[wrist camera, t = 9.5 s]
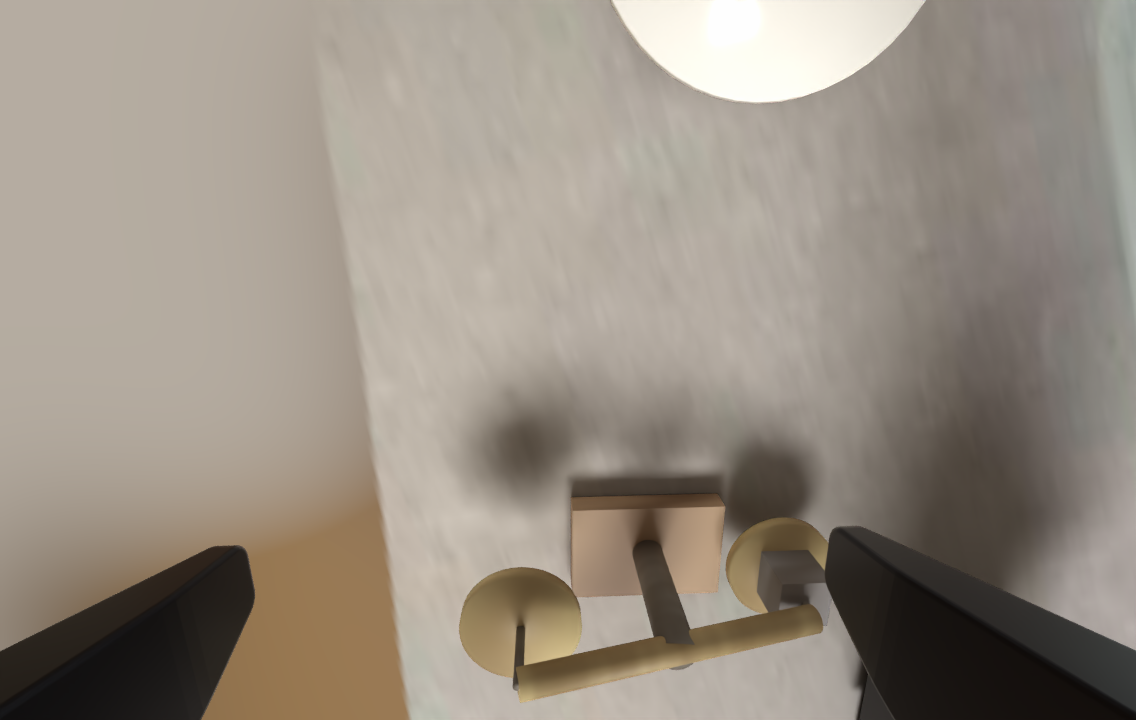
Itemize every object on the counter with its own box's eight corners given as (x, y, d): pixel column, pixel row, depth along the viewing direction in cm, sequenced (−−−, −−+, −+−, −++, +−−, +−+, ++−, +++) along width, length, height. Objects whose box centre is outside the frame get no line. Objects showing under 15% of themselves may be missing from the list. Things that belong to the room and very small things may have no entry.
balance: (809, 490, 22) (937, 623, 15) (798, 573, 23) (911, 733, 16) (474, 499, 21) (440, 643, 14) (479, 583, 22) (450, 755, 15)
